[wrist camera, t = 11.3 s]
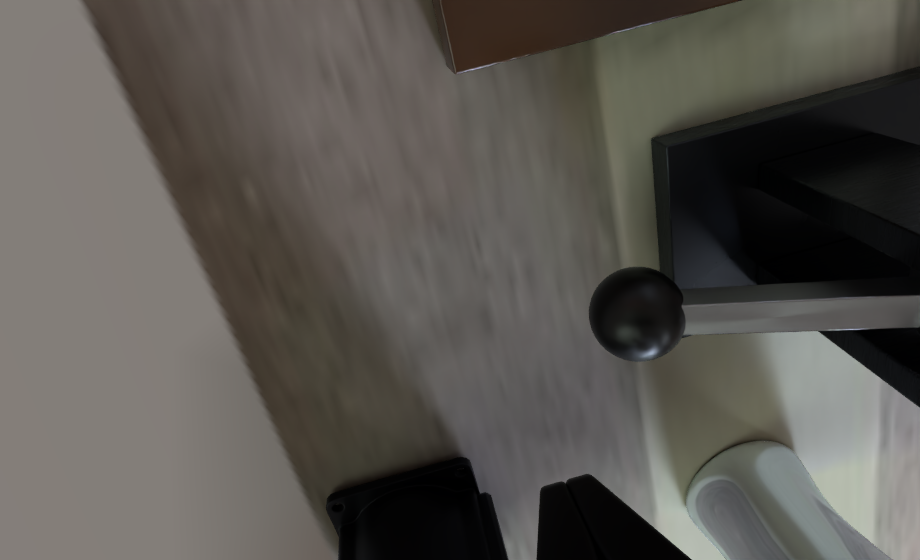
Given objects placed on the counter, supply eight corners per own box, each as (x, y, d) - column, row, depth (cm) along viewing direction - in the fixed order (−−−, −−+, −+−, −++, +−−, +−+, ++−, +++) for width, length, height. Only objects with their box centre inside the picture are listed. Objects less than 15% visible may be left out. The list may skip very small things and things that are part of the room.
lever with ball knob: (597, 327, 21) (591, 381, 19) (587, 253, 20) (580, 302, 17) (1010, 312, 17) (1071, 377, 15) (1033, 219, 16) (1105, 275, 14)
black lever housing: (663, 324, 25) (829, 509, 16) (650, 138, 21) (858, 247, 12) (910, 255, 25) (1203, 398, 16) (941, 60, 21) (1339, 112, 13)
